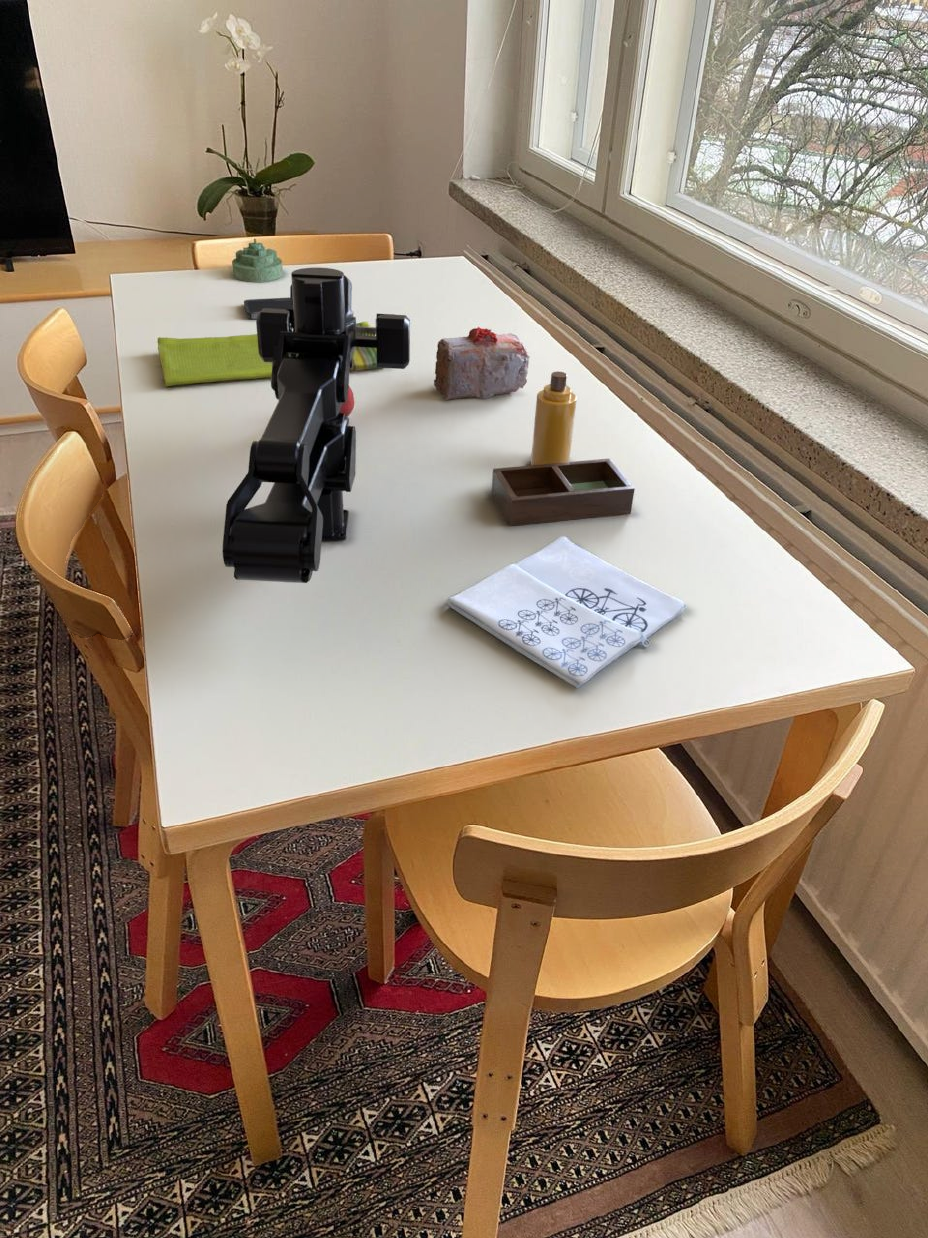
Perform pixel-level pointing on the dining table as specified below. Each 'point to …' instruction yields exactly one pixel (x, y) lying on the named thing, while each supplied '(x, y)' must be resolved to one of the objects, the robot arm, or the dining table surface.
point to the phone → (265, 305)
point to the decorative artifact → (257, 264)
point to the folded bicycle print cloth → (567, 610)
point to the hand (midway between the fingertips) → (343, 320)
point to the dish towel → (229, 359)
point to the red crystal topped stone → (480, 365)
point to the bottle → (553, 422)
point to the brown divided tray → (561, 491)
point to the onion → (348, 404)
